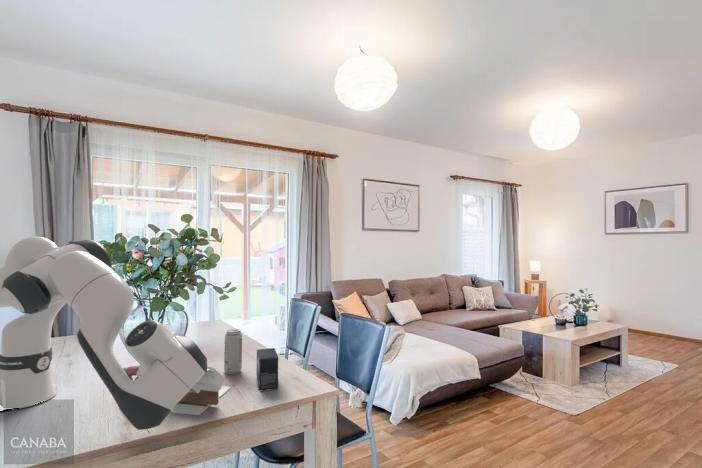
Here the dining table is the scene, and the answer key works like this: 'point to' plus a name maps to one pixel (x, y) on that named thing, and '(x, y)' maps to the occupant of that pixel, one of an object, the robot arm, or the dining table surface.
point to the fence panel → (201, 397)
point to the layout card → (195, 405)
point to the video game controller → (132, 371)
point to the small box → (267, 369)
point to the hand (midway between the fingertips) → (195, 389)
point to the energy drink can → (233, 351)
